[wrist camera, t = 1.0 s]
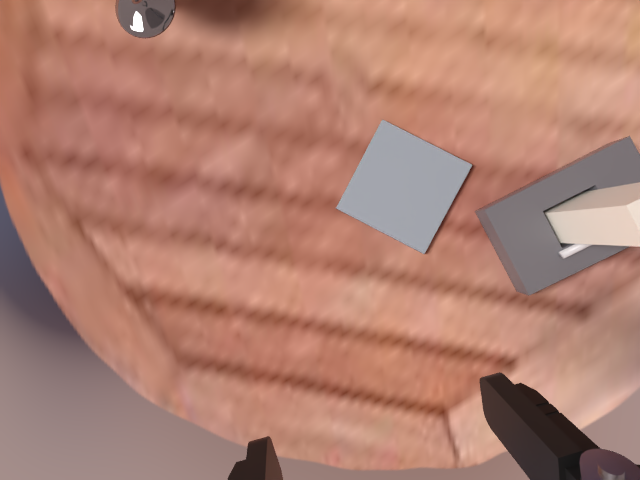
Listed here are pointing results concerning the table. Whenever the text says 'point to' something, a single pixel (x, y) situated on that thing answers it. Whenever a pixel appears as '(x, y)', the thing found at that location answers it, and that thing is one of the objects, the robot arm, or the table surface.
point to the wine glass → (145, 16)
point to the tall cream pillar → (598, 217)
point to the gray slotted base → (533, 227)
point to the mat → (403, 186)
